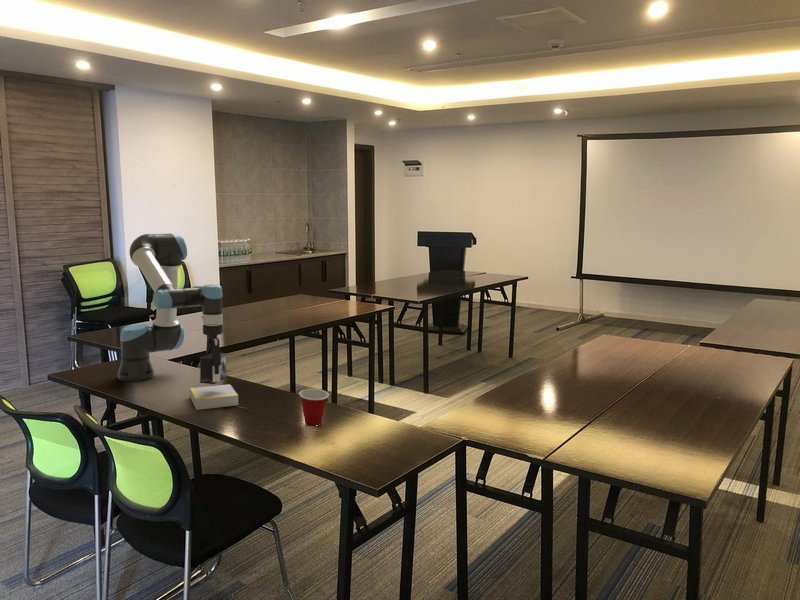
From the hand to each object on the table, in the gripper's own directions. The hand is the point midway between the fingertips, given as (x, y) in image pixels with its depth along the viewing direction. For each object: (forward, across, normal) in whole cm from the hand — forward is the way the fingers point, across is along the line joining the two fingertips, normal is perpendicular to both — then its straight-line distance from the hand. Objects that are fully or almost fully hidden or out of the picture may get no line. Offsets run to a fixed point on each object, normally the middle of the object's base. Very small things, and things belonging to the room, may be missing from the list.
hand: (213, 377), depth 251 cm
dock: (+10, 0, 0) cm, 10 cm away
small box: (+1, 0, 0) cm, 1 cm away
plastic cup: (+10, +39, +29) cm, 50 cm away
